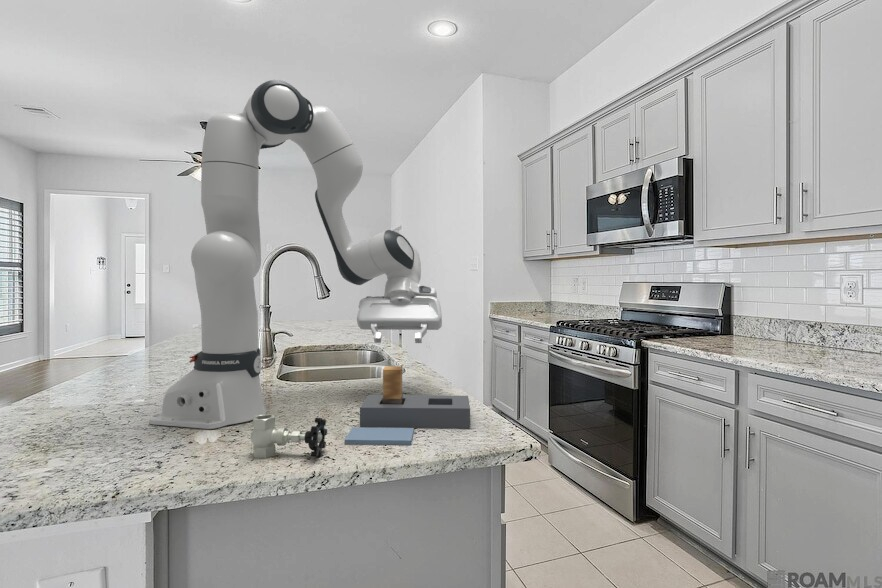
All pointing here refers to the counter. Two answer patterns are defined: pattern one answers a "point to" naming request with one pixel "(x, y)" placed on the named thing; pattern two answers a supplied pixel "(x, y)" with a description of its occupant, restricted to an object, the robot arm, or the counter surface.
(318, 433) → the valve
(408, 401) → the holder
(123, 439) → the counter surface
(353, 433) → the pad
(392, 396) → the plug
